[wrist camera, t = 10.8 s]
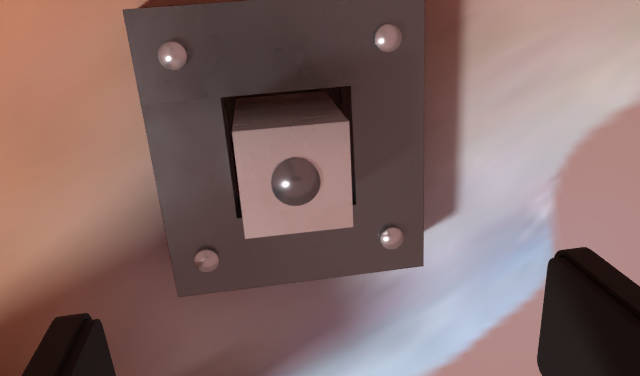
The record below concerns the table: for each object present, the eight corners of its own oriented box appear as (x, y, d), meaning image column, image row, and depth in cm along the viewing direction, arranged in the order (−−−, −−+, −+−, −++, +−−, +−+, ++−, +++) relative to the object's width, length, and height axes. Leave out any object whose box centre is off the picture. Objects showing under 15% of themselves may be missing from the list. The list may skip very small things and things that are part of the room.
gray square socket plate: (136, 8, 24) (120, 9, 21) (405, -12, 25) (426, -13, 22) (184, 268, 29) (177, 300, 26) (407, 241, 30) (425, 268, 27)
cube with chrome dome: (235, 98, 26) (231, 132, 20) (324, 91, 27) (349, 122, 20) (245, 182, 28) (245, 240, 21) (329, 174, 28) (353, 228, 22)
